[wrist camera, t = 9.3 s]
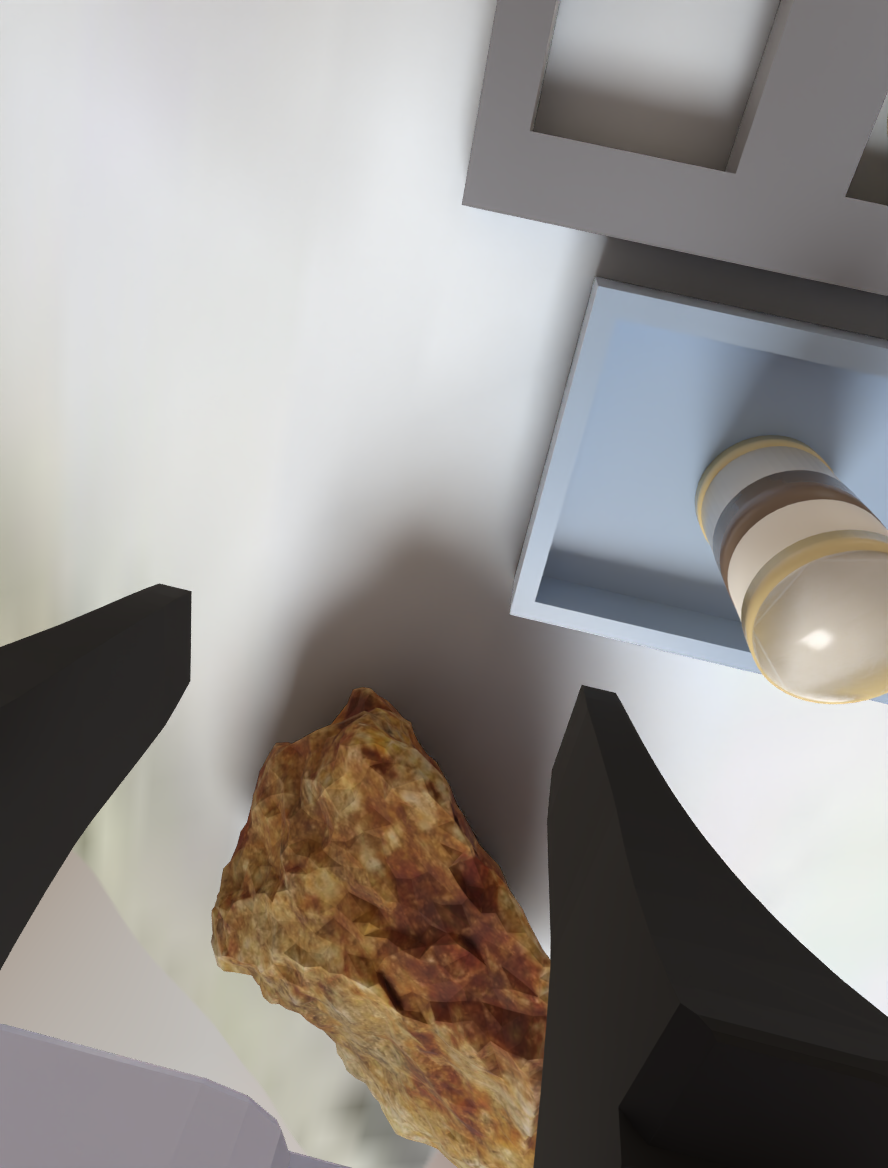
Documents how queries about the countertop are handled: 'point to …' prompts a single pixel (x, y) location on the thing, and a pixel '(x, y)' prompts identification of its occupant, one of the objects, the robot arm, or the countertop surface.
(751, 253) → the fuse block
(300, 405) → the countertop surface
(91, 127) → the countertop surface
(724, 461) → the scorched fuse
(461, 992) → the rock
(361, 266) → the countertop surface
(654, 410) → the parts tray
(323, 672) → the countertop surface
